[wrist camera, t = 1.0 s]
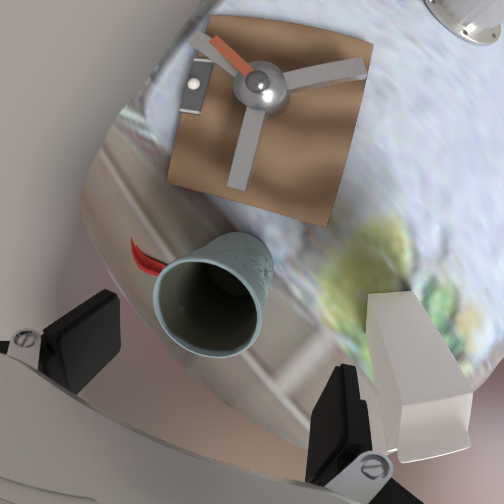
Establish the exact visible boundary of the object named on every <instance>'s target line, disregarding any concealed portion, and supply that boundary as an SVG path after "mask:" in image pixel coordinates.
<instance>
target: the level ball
mask: <svg viewBox="0 0 504 504" xmlns="http://www.w3.org/2000/svg"><path fill="white" fill-rule="evenodd" d="M199 86H200V81H199V79H197V78H191V79H190V80H189V81H188V87H189V88H190V89H192V90H195V89H197V88H199Z"/></svg>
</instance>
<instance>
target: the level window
mask: <svg viewBox="0 0 504 504" xmlns="http://www.w3.org/2000/svg"><path fill="white" fill-rule="evenodd" d="M214 65H215V63H214V62H213V61H212V60H210V59H209V58H194V62H193V65H192V68H191V72H190V75H189V79H188V81H189V80H190V79H191V78H197V79H199V81H200V86H199V88H197V89H195V90H192V89H190V88H189V87H188V82H187V86H186V89H185V93H184V96H183V100H182V104H181V108H180V112H179V113H184V114H191V115H197V116H200V115H201V111H202V107H203V103H204V100H205V96H206V92H207V89H208V85H209V82H210V78H211V75H212V71H213V68H214Z"/></svg>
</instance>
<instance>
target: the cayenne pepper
mask: <svg viewBox="0 0 504 504" xmlns="http://www.w3.org/2000/svg"><path fill="white" fill-rule="evenodd" d="M131 245H132V254H133V257H134V259H135V262H136V264H137V265H138V267H139V268H140V269H141V270H143V271H144V272H147V273H149V274H153V275H155V276H158V275H159V274H160V273H161V271H162V270H163V269H164V268H165V267H166V266H167V265H166V264H163V263H161V262H158V261H156V260H154V259H152V258H150V257H148V256H146V255H145V254H144V253H143V252H141V251H140V249H139V248H138V247H137V245H136V247H135V245H134V243H133V241H132V237H131Z"/></svg>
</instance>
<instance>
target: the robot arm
mask: <svg viewBox="0 0 504 504" xmlns="http://www.w3.org/2000/svg"><path fill="white" fill-rule="evenodd" d="M425 3H426V4H427V6H428V7H429V9H430V10H431V12H432V13H433V14H434V16H435V17H436V18H437V19H438V20H439V21H440V22H441V23H442V24H443V25H444V26H445V27H446V28H448V29H449V30H450V31H451V32H453V33H454V34H455V35H457V36H458V37H460V38H462V39H463V40H466V41H468V42H470V43H473V44H476V45H482V46H486V45H490V44H492V43H494V42H495V41H497V40H498V38H499V36H500V33H501V25H500V23H502V22H503V21H504V0H425ZM43 332H44V334H43V335H40V333H39V332H37V331H36V330H34V329H30V328H25V329H20V330H18V331H16V332H15V333H14V334H13V335H12V337H11V340H10V341H0V504H424V503H423V502H421V501H420V500H419V499H417V498H416V497H415V496H414V495H412V494H411V493H410V492H408V491H407V490H406V489H405V488H404V487H402V486H401V485H400V484H399V483H397V482H396V481H395V480H394V479H393V478H391V476H392V474H393V465H392V462H391V461H390V459H389V458H388V457H387V456H386V455H384V454H382V453H380V452H377V451H372V441H371V432H370V424H369V416H368V409H367V403H366V401H365V400H360V392H359V385H358V378H357V371H356V367H355V366H352V365H347V364H341V365H340V367H339V366H336V367H335V368H334V370H333V372H332V374H331V376H330V378H329V380H328V382H327V384H326V386H325V388H324V390H323V392H322V394H321V396H320V398H319V400H318V402H317V404H316V405H315V407H314V409H313V412H312V415H311V424H310V437H309V448H308V458H307V467H306V476H305V481H306V482H307V483H306V482H301V481H297V480H292V479H288V478H283V477H278V476H273V475H269V474H265V473H261V472H257V471H253V470H250V469H246V468H242V467H238V466H235V465H231V464H228V463H224V462H221V461H218V460H215V459H212V458H209V457H206V456H203V455H200V454H197V453H194V452H192V451H189V450H186V449H184V448H181V447H179V446H176V445H173V444H171V443H169V442H166V441H164V440H161V439H159V438H157V437H154V436H152V435H150V434H148V433H145V432H143V431H141V430H139V429H137V428H135V427H133V426H131V425H128V424H126V423H125V422H123V421H120V420H119V419H117V418H115V417H113V416H111V415H109V414H107V413H106V412H104V411H102V410H100V409H98V408H97V407H95V406H93V405H91V404H90V403H88V402H86V401H85V400H83V399H81V398H80V397H78V396H76V395H77V394H78V393H79V392H80V391H81V390H82V389H83V388H84V387H85V386H86V385H87V384H88V383H89V382H90V380H92V379H93V378H94V377H95V376H96V375H97V374H98V373H99V372H100V371H101V370H102V369H103V368H104V367H105V366H106V364H108V363H109V362H110V361H111V360H112V359H113V358H114V357H115V356H116V355H117V353H119V351H120V348H121V339H120V338H121V337H120V300H119V298H118V297H117V294H116V293H114V292H111V291H109V290H106V289H104V290H102V291H100V292H99V293H97V294H96V295H94V296H93V297H91V298H90V299H88V300H87V301H85V302H84V303H82V304H81V305H79V306H77V307H76V308H74V309H73V310H72V311H70V312H68V313H67V314H66V315H64V316H62V317H61V318H60V319H58V320H57V321H55V322H54V323H52V324H51V325H49V326H48V327H46V328H45V329H44V330H43Z"/></svg>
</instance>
